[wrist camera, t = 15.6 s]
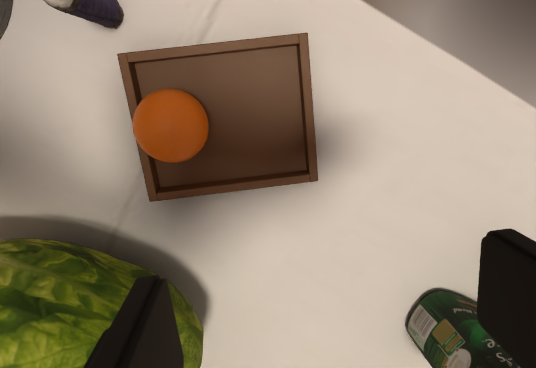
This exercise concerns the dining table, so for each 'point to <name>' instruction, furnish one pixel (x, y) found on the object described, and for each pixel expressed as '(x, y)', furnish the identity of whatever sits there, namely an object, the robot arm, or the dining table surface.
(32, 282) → the lettuce
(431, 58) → the dining table surface
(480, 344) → the coffee jar
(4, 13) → the bowl
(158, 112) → the mandarin
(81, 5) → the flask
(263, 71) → the tray
